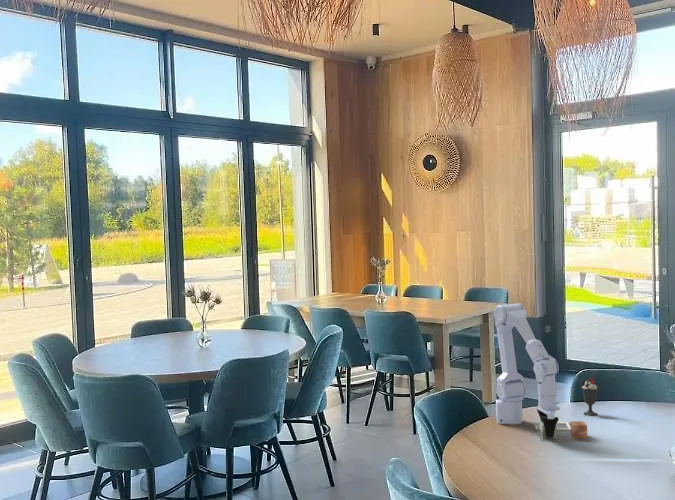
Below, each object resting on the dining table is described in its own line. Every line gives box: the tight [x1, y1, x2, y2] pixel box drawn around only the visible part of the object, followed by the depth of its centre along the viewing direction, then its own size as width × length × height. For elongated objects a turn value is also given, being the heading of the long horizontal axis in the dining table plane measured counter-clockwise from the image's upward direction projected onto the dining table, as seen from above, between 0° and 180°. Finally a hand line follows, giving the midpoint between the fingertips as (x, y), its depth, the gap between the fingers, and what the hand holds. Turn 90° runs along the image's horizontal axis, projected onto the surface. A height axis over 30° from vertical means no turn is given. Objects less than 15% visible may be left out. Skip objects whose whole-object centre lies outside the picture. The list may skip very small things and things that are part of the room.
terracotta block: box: [569, 420, 588, 439], centre depth 220 cm, size 4×4×4 cm
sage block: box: [539, 420, 556, 439], centre depth 222 cm, size 4×4×4 cm
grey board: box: [532, 421, 592, 443], centre depth 226 cm, size 16×20×1 cm
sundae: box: [580, 375, 600, 417], centre depth 247 cm, size 7×7×15 cm
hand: (548, 434), depth 222 cm, fingers open, 6 cm apart
